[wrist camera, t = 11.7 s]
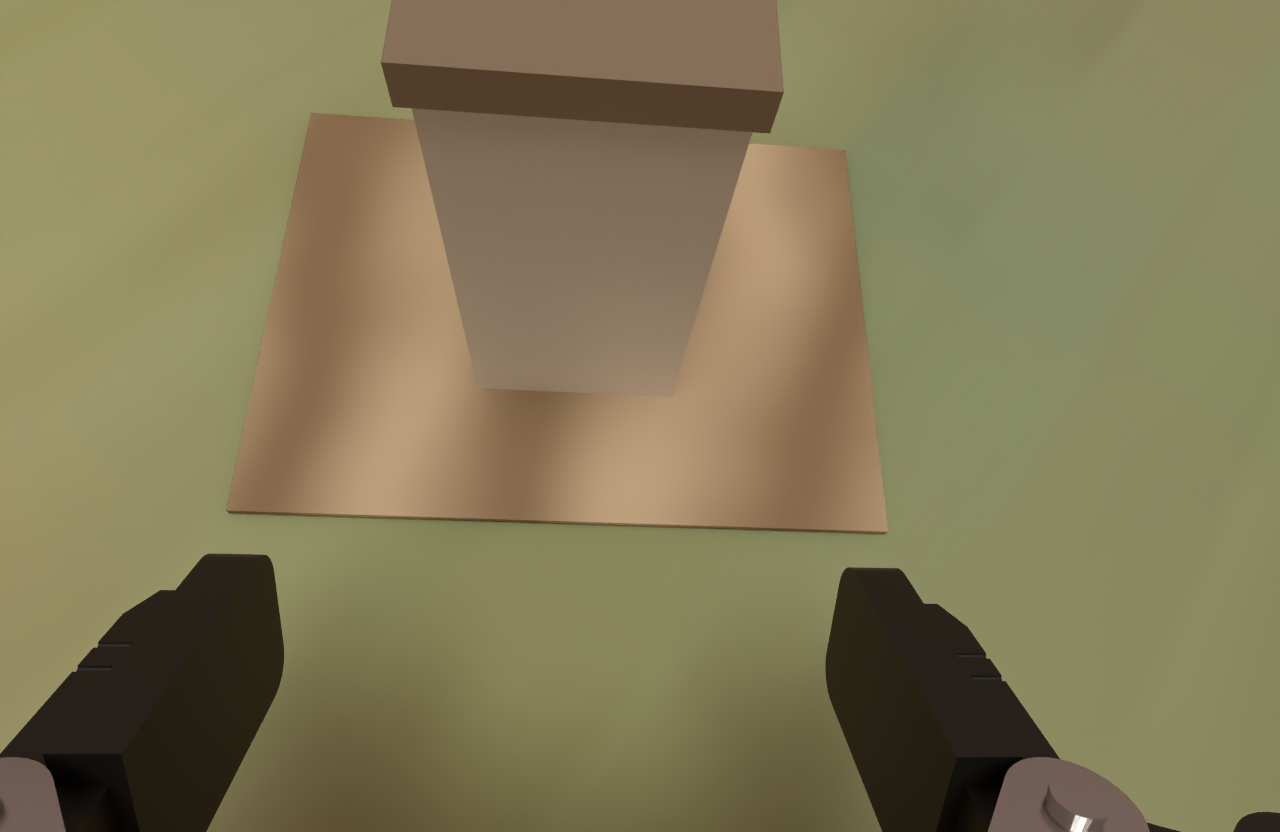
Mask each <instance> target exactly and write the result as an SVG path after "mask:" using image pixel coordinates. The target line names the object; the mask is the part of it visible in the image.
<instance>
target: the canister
mask: <svg viewBox="0 0 1280 832" xmlns="http://www.w3.org/2000/svg"><path fill="white" fill-rule="evenodd" d="M381 64H382V68H383V72H384V76H385V79H386V83H387V87H388V91H389V95H390V98H391V102H392V106H393V107H401V108H412V112H413V116H414V121H415V125H416V129H417V133H418V137H419V142H420V146H421V150H422V154H423V159H424V163H425V167H426V171H427V175H428V180H429V184H430V188H431V192H432V197H433V201H434V205H435V209H436V214H437V218H438V222H439V226H440V230H441V235H442V239H443V243H444V247H445V252H446V256H447V260H448V264H449V269H450V273H451V277H452V281H453V285H454V290H455V294H456V298H457V302H458V307H459V311H460V315H461V319H462V324H463V328H464V332H465V336H466V340H467V345H468V349H469V353H470V357H471V362H472V366H473V370H474V374H475V379H476V383H477V387H478V388H482V389H505V390H528V391H551V392H574V393H596V394H619V395H642V396H665V397H671V396H672V393H673V389H674V386H675V383H676V380H677V376H678V373H679V370H680V367H681V363H682V360H683V357H684V354H685V350H686V347H687V344H688V341H689V337H690V334H691V331H692V328H693V324H694V321H695V318H696V315H697V311H698V308H699V305H700V302H701V298H702V295H703V292H704V289H705V285H706V282H707V279H708V275H709V272H710V269H711V266H712V262H713V259H714V256H715V253H716V249H717V246H718V243H719V240H720V236H721V233H722V230H723V227H724V223H725V220H726V217H727V214H728V210H729V207H730V204H731V201H732V197H733V194H734V191H735V188H736V184H737V181H738V178H739V175H740V171H741V168H742V165H743V162H744V158H745V155H746V152H747V149H748V145H749V142H750V139H751V135H752V132H757V133H770V131H771V128H772V126H773V123H774V120H775V117H776V114H777V111H778V108H779V105H780V102H781V99H782V96H783V93H784V89H783V77H782V64H781V51H780V39H779V26H778V13H777V1H776V0H392V2H391V8H390V13H389V19H388V25H387V30H386V36H385V42H384V48H383V53H382V59H381Z"/></svg>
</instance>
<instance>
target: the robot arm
mask: <svg viewBox="0 0 1280 832" xmlns="http://www.w3.org/2000/svg"><path fill="white" fill-rule="evenodd" d="M283 664H284V645H283V637H282V629H281V622H280V614H279V606H278V599H277V591H276V583H275V576H274V569H273V565H272V562H271V560H270V558H269V557H268V556H267V555H251V554H207V555H205V556H203V557H202V558H201V559H200V561H199V562H198V563H197V564H196V566H195V567H194V568H193V569H192V570H191V572H190V573H189V574H188V575H187V577H186V578H185V579H184V580H183V582H182V583H181V584H180V585H179V586H178V588H177V589H176V590H160V591H158V592H157V593H155V594H154V595H152V596H151V597H149V598H147V599H146V600H144V601H143V602H141V603H139V604H138V605H136V606H135V607H133V608H132V609H130V610H128V611H127V612H125V613H124V614H122V616H121V617H120V618H119V619H118V620H117V621H116V622H115V624H114V625H113V626H112V627H111V628H110V629H109V630H108V632H107V633H106V634H105V635H104V636H103V637H102V638H101V640H100V641H99V642H98V647H97V648H93V649H92V650H91V651H90V652H89V653H88V654H87V656H86V657H85V658H84V659H83V660H82V661H81V662H80V664H79V665H78V669H77V672H72V673H71V674H70V675H69V676H68V677H67V678H66V680H65V681H64V682H63V683H62V684H61V685H60V686H59V688H58V689H57V690H56V691H55V692H54V693H53V694H52V696H51V697H50V698H49V699H48V700H47V701H46V702H45V703H44V705H43V706H42V707H41V708H40V709H39V710H38V711H37V713H36V714H35V715H34V716H33V717H32V718H31V719H30V721H29V722H28V723H27V724H26V725H25V726H24V727H23V729H22V730H21V731H20V732H19V733H18V734H17V735H16V737H15V738H14V739H13V740H12V741H11V742H10V743H9V745H8V746H7V747H6V748H5V749H4V750H3V751H2V753H1V754H0V832H206V831H207V829H208V827H209V825H210V823H211V821H212V819H213V817H214V815H215V813H216V811H217V809H218V807H219V805H220V803H221V802H222V800H223V798H224V796H225V794H226V792H227V790H228V788H229V786H230V784H231V782H232V780H233V778H234V776H235V774H236V772H237V770H238V768H239V766H240V764H241V762H242V760H243V758H244V756H245V754H246V752H247V751H248V749H249V747H250V745H251V743H252V741H253V739H254V737H255V735H256V733H257V731H258V729H259V727H260V725H261V723H262V721H263V719H264V717H265V715H266V713H267V711H268V709H269V707H270V705H271V703H272V701H273V700H274V698H275V695H276V693H277V691H278V688H279V685H280V681H281V677H282V671H283ZM826 682H827V688H828V693H829V697H830V700H831V703H832V705H833V708H834V710H835V713H836V716H837V718H838V721H839V723H840V726H841V728H842V731H843V733H844V736H845V738H846V741H847V743H848V746H849V748H850V751H851V753H852V756H853V759H854V761H855V764H856V766H857V769H858V771H859V774H860V776H861V779H862V781H863V784H864V786H865V789H866V791H867V794H868V797H869V799H870V802H871V804H872V807H873V809H874V812H875V814H876V817H877V819H878V822H879V824H880V827H881V829H882V832H1180V831H1176V830H1172V829H1168V828H1164V827H1160V826H1157V825H1153V824H1150V823H1147V822H1146V821H1145V819H1144V817H1143V815H1142V813H1141V812H1140V811H1139V809H1138V808H1137V806H1136V805H1135V804H1134V803H1133V802H1132V801H1131V800H1130V799H1129V797H1128V796H1127V795H1125V794H1124V793H1123V792H1122V791H1121V790H1120V789H1119V788H1118V787H1116V786H1115V785H1113V784H1112V783H1111V782H1109V781H1108V780H1107V779H1105V778H1103V777H1102V776H1100V775H1098V774H1097V773H1095V772H1093V771H1091V770H1089V769H1087V768H1085V767H1082V766H1080V765H1077V764H1074V763H1072V762H1068V761H1064V760H1061V759H1060V758H1059V757H1058V756H1057V754H1056V753H1055V751H1054V750H1053V748H1052V747H1051V746H1050V744H1049V743H1048V741H1047V740H1046V738H1045V737H1044V736H1043V734H1042V733H1041V731H1040V730H1039V728H1038V727H1037V726H1036V724H1035V723H1034V721H1033V720H1032V718H1031V717H1030V716H1029V714H1028V713H1027V711H1026V710H1025V708H1024V707H1023V706H1022V704H1021V703H1020V701H1019V700H1018V698H1017V697H1016V696H1015V694H1014V693H1013V691H1012V690H1011V688H1010V687H1009V686H1008V684H1007V683H1006V681H1002V679H1001V674H1000V673H999V671H998V670H997V668H996V667H995V666H994V664H993V663H992V661H991V660H990V659H986V653H985V651H984V650H983V648H982V647H981V646H980V644H979V643H978V641H977V640H976V638H975V637H974V636H973V634H972V633H971V631H970V630H969V629H968V627H967V626H965V625H964V624H963V623H962V622H960V621H959V620H958V619H956V618H955V617H954V616H952V615H951V614H950V613H948V612H947V611H946V610H945V609H943V608H942V607H941V606H939V605H938V604H924V603H923V602H922V600H921V599H920V597H919V596H918V594H917V593H916V591H915V589H914V588H913V586H912V585H911V583H910V582H909V580H908V579H907V577H906V576H905V574H904V573H903V572H902V571H901V570H900V569H898V568H846V569H845V570H844V571H843V573H842V576H841V579H840V583H839V589H838V594H837V599H836V605H835V610H834V616H833V621H832V627H831V632H830V637H829V643H828V648H827V654H826ZM1233 832H1280V813H1272V812H1257V813H1253V814H1249V815H1247V816H1245V817H1243V818H1242V819H1241V820H1240V821H1239V822H1238V823H1237V825H1236V827H1235V829H1234V831H1233Z"/></svg>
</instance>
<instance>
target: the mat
mask: <svg viewBox="0 0 1280 832" xmlns="http://www.w3.org/2000/svg"><path fill="white" fill-rule="evenodd" d="M226 511H227V512H229V513H252V514H283V515H315V516H346V517H378V518H409V519H441V520H472V521H504V522H535V523H566V524H598V525H629V526H661V527H692V528H724V529H755V530H787V531H818V532H850V533H881V534H885V533H887V532H888V526H887V517H886V508H885V499H884V490H883V481H882V472H881V463H880V454H879V446H878V437H877V428H876V419H875V410H874V401H873V392H872V383H871V374H870V365H869V356H868V347H867V338H866V330H865V321H864V312H863V303H862V294H861V285H860V276H859V267H858V258H857V249H856V240H855V231H854V222H853V214H852V205H851V196H850V187H849V178H848V169H847V160H846V151H845V150H835V149H821V148H806V147H792V146H778V145H763V144H749V145H748V149H747V152H746V155H745V158H744V162H743V165H742V168H741V171H740V175H739V178H738V181H737V184H736V188H735V191H734V194H733V197H732V201H731V204H730V207H729V210H728V214H727V217H726V220H725V223H724V227H723V230H722V233H721V236H720V240H719V243H718V246H717V249H716V253H715V256H714V259H713V262H712V266H711V269H710V272H709V275H708V279H707V282H706V285H705V289H704V292H703V295H702V298H701V302H700V305H699V308H698V311H697V315H696V318H695V321H694V324H693V328H692V331H691V334H690V337H689V341H688V344H687V347H686V350H685V354H684V357H683V360H682V363H681V367H680V370H679V373H678V376H677V380H676V383H675V386H674V389H673V393H672V396H671V397H665V396H642V395H619V394H596V393H574V392H551V391H528V390H505V389H482V388H478V387H477V383H476V379H475V374H474V370H473V366H472V362H471V357H470V353H469V349H468V345H467V340H466V336H465V332H464V328H463V324H462V319H461V315H460V311H459V307H458V302H457V298H456V294H455V290H454V285H453V281H452V277H451V273H450V269H449V264H448V260H447V256H446V252H445V247H444V243H443V239H442V235H441V230H440V226H439V222H438V218H437V214H436V209H435V205H434V201H433V197H432V192H431V188H430V184H429V180H428V175H427V171H426V167H425V163H424V159H423V154H422V150H421V146H420V142H419V137H418V133H417V129H416V125H415V121H414V120H405V119H391V118H377V117H362V116H348V115H334V114H319V113H311V116H310V121H309V125H308V130H307V135H306V139H305V144H304V149H303V153H302V158H301V163H300V167H299V172H298V177H297V181H296V186H295V191H294V195H293V200H292V205H291V209H290V214H289V219H288V223H287V228H286V233H285V237H284V242H283V247H282V251H281V256H280V261H279V265H278V270H277V275H276V279H275V284H274V289H273V293H272V298H271V303H270V307H269V312H268V317H267V321H266V326H265V331H264V335H263V340H262V345H261V349H260V354H259V359H258V364H257V368H256V373H255V378H254V382H253V387H252V392H251V396H250V401H249V406H248V410H247V415H246V420H245V424H244V429H243V434H242V438H241V443H240V448H239V452H238V457H237V462H236V466H235V471H234V476H233V480H232V485H231V490H230V494H229V499H228V504H227V508H226Z"/></svg>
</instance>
